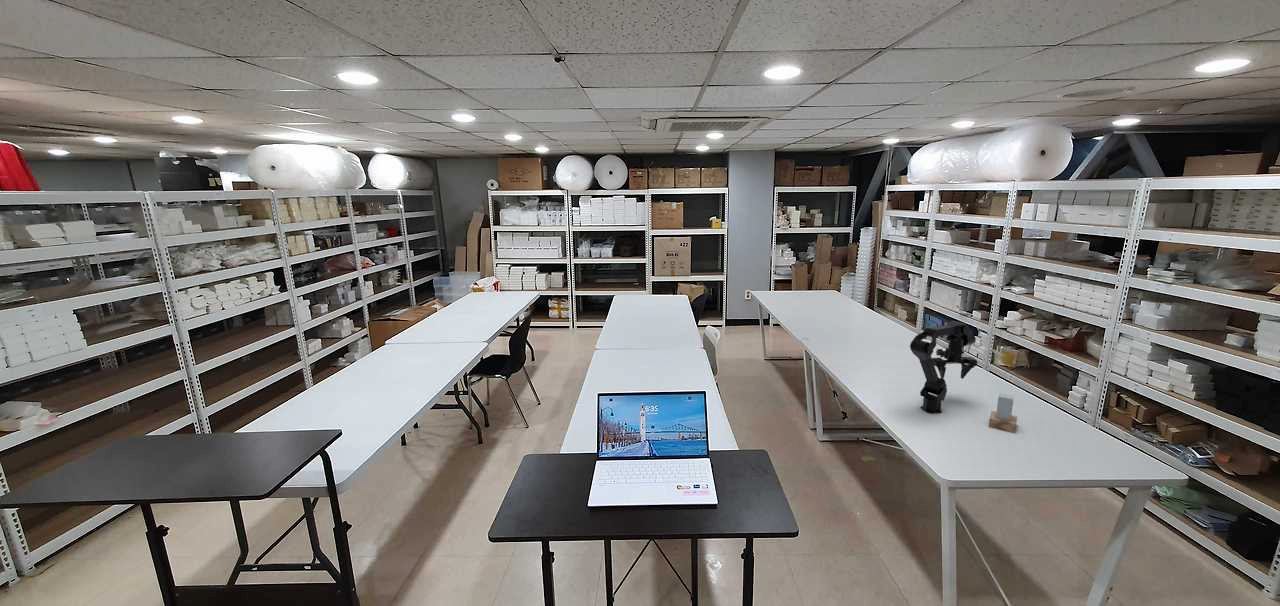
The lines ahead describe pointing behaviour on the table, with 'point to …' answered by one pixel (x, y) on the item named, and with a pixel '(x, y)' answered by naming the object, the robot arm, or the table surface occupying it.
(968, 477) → the table surface
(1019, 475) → the table surface
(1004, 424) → the tan flat square block
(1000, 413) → the slate block
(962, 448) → the table surface
